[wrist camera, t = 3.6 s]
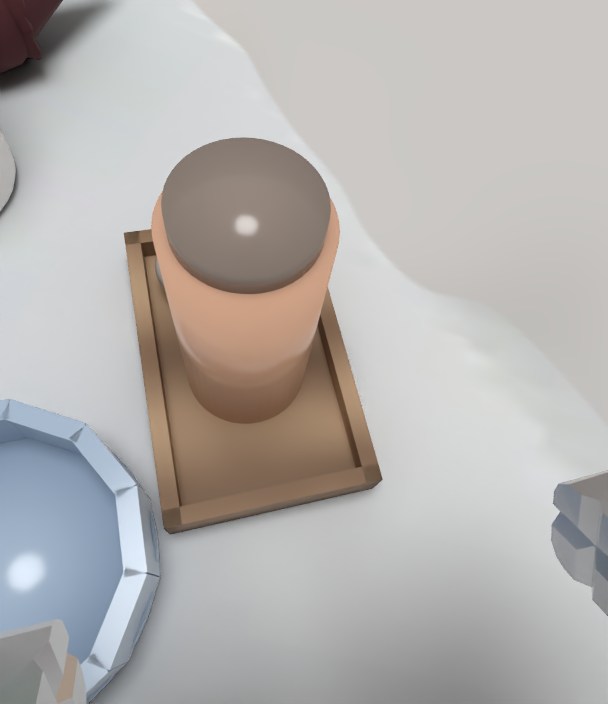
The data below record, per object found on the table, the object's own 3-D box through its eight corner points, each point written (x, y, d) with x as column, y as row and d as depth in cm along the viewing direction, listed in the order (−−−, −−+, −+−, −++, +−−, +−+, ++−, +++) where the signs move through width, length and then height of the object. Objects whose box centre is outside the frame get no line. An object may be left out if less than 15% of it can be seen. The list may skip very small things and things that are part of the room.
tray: (372, 488, 26) (382, 479, 24) (170, 534, 24) (163, 528, 22) (301, 232, 31) (305, 208, 29) (131, 255, 29) (123, 232, 27)
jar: (315, 411, 26) (368, 271, 15) (197, 434, 25) (160, 304, 14) (290, 307, 28) (319, 118, 17) (179, 326, 27) (134, 137, 16)
